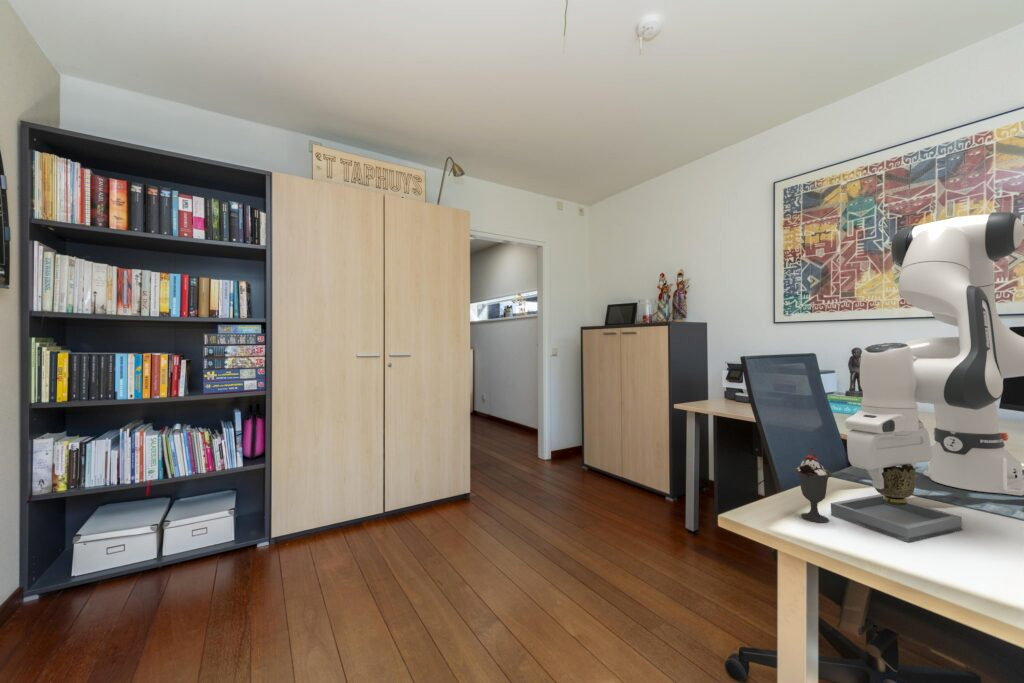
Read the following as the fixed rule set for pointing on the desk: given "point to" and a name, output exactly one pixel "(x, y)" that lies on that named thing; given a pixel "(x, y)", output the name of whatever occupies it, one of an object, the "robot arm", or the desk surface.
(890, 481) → the cup
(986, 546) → the desk surface
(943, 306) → the robot arm
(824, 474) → the sundae
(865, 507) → the tray
